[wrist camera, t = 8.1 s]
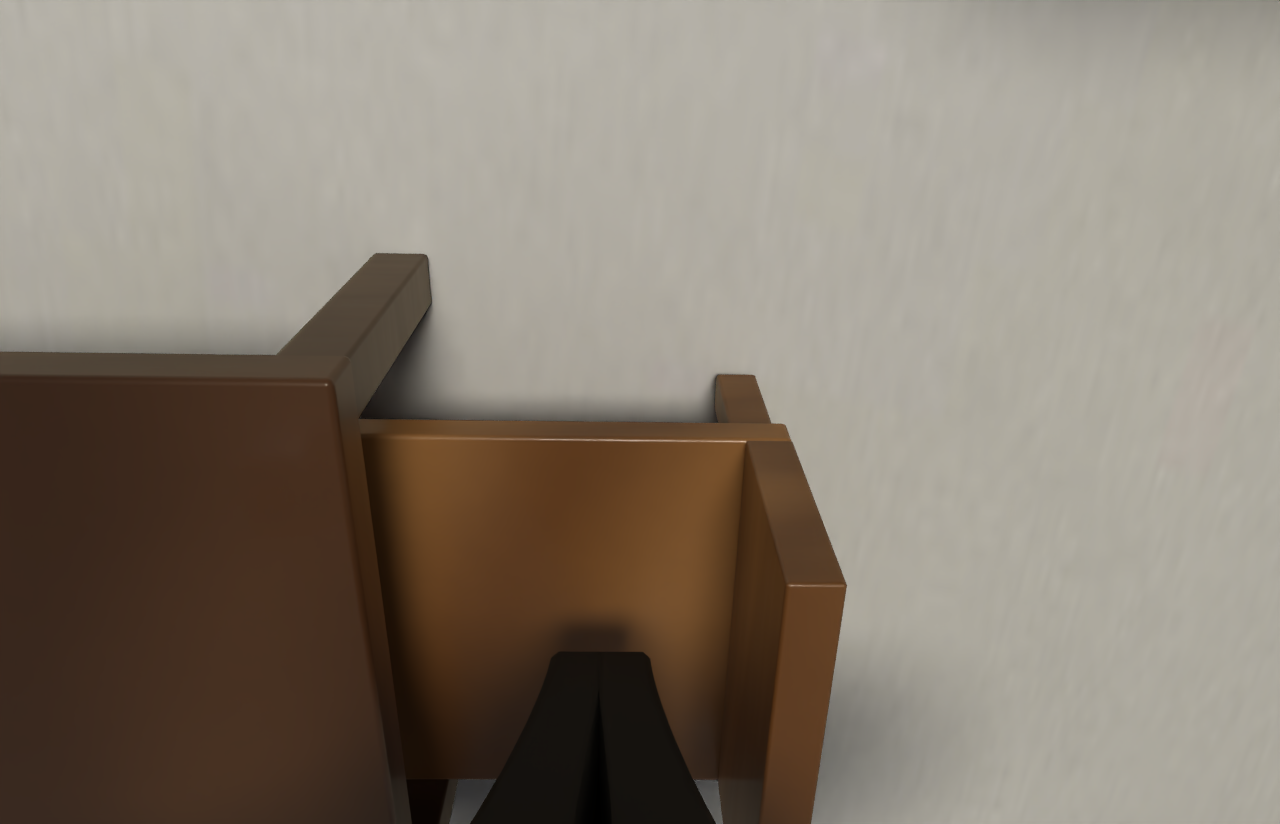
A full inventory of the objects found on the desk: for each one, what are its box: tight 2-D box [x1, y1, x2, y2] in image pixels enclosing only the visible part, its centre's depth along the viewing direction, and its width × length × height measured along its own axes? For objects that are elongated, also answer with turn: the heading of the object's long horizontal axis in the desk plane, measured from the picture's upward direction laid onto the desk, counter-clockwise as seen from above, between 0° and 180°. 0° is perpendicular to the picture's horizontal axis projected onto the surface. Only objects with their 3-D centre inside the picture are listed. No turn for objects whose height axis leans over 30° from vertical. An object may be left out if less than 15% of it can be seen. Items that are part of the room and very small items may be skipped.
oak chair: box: [359, 375, 847, 824], centre depth 14 cm, size 8×7×6 cm
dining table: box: [0, 253, 458, 824], centre depth 14 cm, size 9×11×6 cm
